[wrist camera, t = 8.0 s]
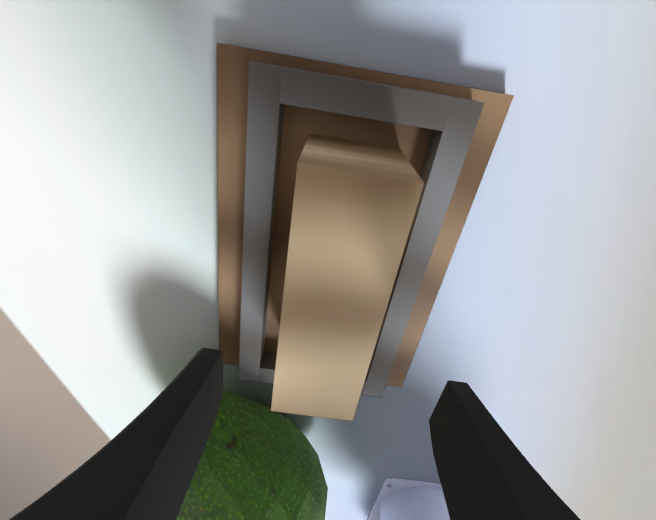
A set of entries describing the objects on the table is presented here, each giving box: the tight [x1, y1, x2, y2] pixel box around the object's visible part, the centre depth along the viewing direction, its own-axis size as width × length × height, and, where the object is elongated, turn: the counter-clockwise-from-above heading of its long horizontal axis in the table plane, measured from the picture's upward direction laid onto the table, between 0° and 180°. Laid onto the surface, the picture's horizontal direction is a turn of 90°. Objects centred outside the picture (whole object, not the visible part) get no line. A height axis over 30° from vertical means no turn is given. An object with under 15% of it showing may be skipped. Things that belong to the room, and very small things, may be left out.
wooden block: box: [271, 134, 424, 421], centre depth 16 cm, size 12×4×5 cm, turn 171°
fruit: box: [176, 390, 328, 520], centre depth 21 cm, size 15×10×10 cm, turn 20°
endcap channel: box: [217, 43, 513, 398], centre depth 18 cm, size 18×12×2 cm
